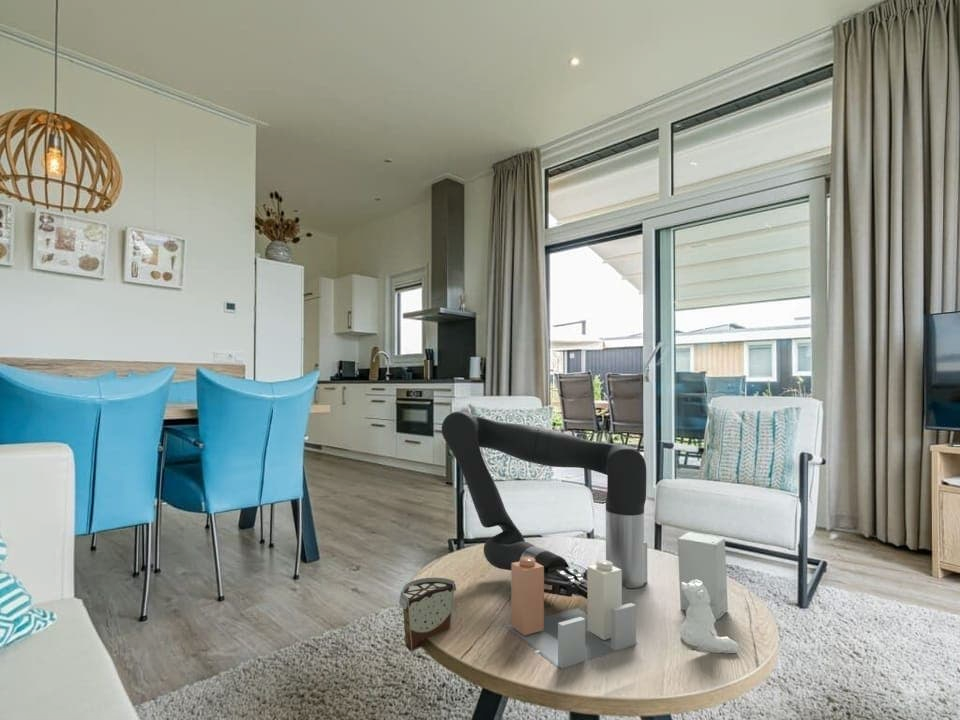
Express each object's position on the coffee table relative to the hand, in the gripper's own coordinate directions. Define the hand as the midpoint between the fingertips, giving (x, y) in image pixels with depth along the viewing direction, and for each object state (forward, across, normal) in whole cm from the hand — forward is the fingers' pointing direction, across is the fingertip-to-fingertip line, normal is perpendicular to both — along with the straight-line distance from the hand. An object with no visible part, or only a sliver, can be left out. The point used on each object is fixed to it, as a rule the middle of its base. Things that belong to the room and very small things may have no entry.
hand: (596, 595), depth 101 cm
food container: (-16, -30, +8) cm, 35 cm away
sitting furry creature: (+12, +15, +8) cm, 21 cm away
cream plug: (+2, 0, +6) cm, 7 cm away
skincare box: (+2, +28, +8) cm, 29 cm away
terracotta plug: (-6, -12, +6) cm, 15 cm away
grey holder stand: (-1, -6, +8) cm, 10 cm away
